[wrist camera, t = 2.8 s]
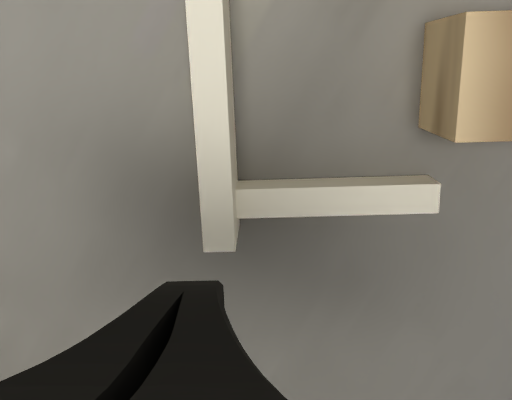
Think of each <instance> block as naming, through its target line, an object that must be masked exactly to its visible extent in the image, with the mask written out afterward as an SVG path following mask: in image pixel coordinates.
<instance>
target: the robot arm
mask: <svg viewBox="0 0 512 400" xmlns="http://www.w3.org/2000/svg"><path fill="white" fill-rule="evenodd" d="M0 400H287V399H286V398H285V397H284V396H283V395H282V394H281V393H280V392H279V391H278V390H277V389H276V388H275V387H274V386H273V385H272V384H271V383H270V382H269V381H268V380H267V379H266V378H265V377H264V376H263V375H262V373H261V372H260V371H259V370H258V368H257V367H256V366H255V365H254V363H253V362H252V360H251V359H250V358H249V356H248V355H247V353H246V352H245V350H244V349H243V347H242V345H241V344H240V342H239V340H238V338H237V336H236V334H235V333H234V331H233V328H232V326H231V324H230V322H229V319H228V317H227V314H226V311H225V308H224V292H223V285H222V284H221V283H220V282H219V281H177V282H166V283H164V284H162V285H161V286H159V287H158V288H157V289H155V290H154V291H153V292H151V293H150V294H149V295H147V296H146V297H145V298H143V299H142V300H141V301H139V302H138V303H137V304H135V305H134V306H133V307H131V308H130V309H129V310H127V311H126V312H125V313H123V314H122V315H121V316H119V317H118V318H116V319H115V320H113V321H112V322H110V323H109V324H107V325H106V326H104V327H103V328H101V329H100V330H98V331H97V332H95V333H94V334H92V335H91V336H89V337H88V338H86V339H84V340H83V341H81V342H79V343H78V344H76V345H74V346H73V347H71V348H69V349H67V350H65V351H64V352H62V353H60V354H58V355H56V356H54V357H52V358H50V359H49V360H47V361H45V362H43V363H41V364H39V365H36V366H34V367H32V368H30V369H27V370H25V371H23V372H21V373H18V374H16V375H14V376H12V377H9V378H7V379H5V380H3V381H0Z"/></svg>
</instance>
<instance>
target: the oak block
mask: <svg viewBox="0 0 512 400" xmlns="http://www.w3.org/2000/svg"><path fill="white" fill-rule="evenodd" d="M418 127H419V128H421V129H424V130H426V131H429V132H431V133H433V134H436V135H438V136H440V137H443V138H445V139H448V140H450V141H452V142H455V143H460V142H496V141H512V10H506V11H479V12H465V13H461V14H457V15H453V16H449V17H446V18H442V19H438V20H434V21H431V22H427V23H425V35H424V50H423V65H422V80H421V96H420V111H419V126H418Z"/></svg>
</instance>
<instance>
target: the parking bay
mask: <svg viewBox="0 0 512 400" xmlns="http://www.w3.org/2000/svg"><path fill="white" fill-rule="evenodd" d="M185 4H186V18H187V32H188V46H189V60H190V73H191V87H192V101H193V115H194V128H195V142H196V156H197V170H198V183H199V197H200V211H201V225H202V238H203V252H235V251H236V245H237V239H238V233H239V227H240V219H242V218H279V217H317V216H355V215H393V214H430V213H439V201H440V189H441V184H440V183H439V182H437V181H436V180H435V179H433V178H432V177H430V176H429V175H412V176H378V177H343V178H309V179H275V180H240V181H238V175H237V155H236V134H235V113H234V92H233V72H232V51H231V30H230V9H229V0H185Z"/></svg>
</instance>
